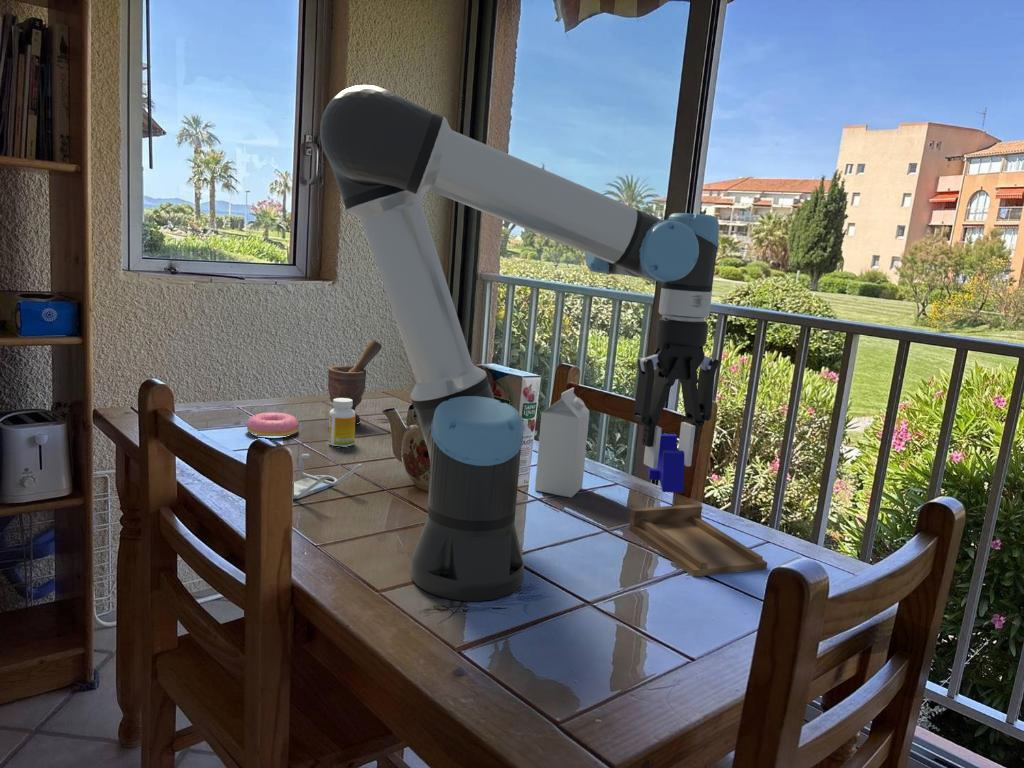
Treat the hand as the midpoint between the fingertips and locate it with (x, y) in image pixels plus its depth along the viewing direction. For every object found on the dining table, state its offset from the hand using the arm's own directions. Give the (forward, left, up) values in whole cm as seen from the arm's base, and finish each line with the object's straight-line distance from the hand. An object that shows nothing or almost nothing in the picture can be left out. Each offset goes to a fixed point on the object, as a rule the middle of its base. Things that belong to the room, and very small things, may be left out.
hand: (667, 464), depth 116 cm
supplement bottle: (-41, +58, -12) cm, 73 cm away
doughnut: (-55, +68, -13) cm, 88 cm away
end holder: (+4, -5, -12) cm, 14 cm away
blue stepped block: (-1, -1, -2) cm, 3 cm away
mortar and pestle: (-36, +76, -12) cm, 85 cm away
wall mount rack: (-51, +29, -13) cm, 60 cm away
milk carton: (-6, +24, -12) cm, 28 cm away
